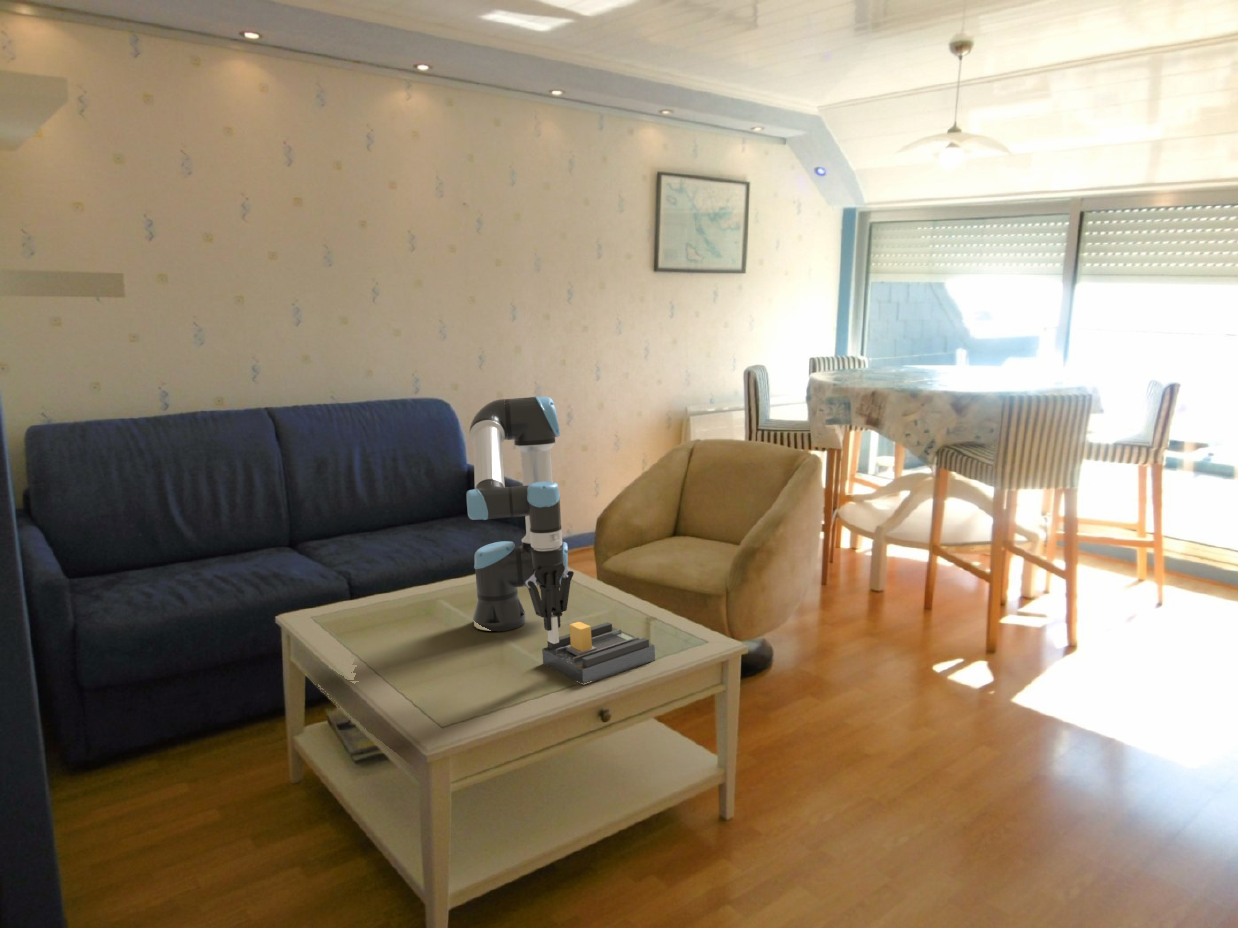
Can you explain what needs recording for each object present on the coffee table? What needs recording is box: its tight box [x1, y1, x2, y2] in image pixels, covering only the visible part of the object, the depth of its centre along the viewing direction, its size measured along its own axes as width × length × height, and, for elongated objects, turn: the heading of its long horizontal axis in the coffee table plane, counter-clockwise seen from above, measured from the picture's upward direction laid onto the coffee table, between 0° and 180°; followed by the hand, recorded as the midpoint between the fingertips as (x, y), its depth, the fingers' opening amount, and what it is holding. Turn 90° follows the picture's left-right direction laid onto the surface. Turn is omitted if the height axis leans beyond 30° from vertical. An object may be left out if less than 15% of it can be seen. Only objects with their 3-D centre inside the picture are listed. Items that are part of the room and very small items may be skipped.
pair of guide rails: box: [546, 622, 650, 667], centre depth 221 cm, size 17×19×2 cm
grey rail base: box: [541, 626, 656, 684], centre depth 221 cm, size 18×22×5 cm
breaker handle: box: [566, 621, 597, 656], centre depth 218 cm, size 6×5×7 cm
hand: (553, 641), depth 212 cm, fingers closed
